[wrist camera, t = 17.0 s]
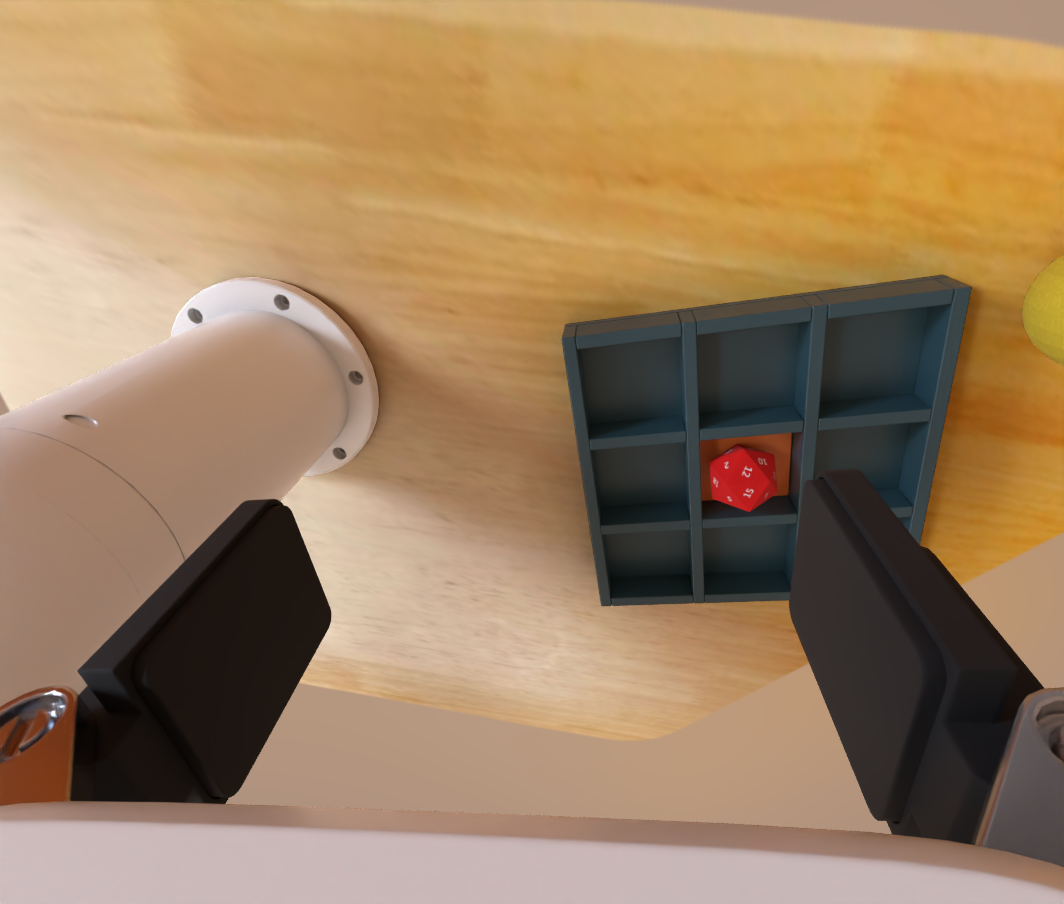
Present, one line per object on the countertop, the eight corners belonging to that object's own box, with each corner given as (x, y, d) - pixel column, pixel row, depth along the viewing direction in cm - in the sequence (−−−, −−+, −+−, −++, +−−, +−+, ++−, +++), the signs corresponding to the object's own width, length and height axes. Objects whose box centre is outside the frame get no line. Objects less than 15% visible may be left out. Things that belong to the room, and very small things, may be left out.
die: (716, 515, 33) (767, 528, 29) (683, 475, 32) (730, 484, 28) (752, 470, 34) (806, 478, 30) (721, 430, 33) (772, 433, 29)
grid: (601, 580, 39) (601, 606, 37) (564, 323, 30) (561, 338, 28) (891, 568, 35) (909, 596, 33) (943, 274, 27) (972, 286, 25)
